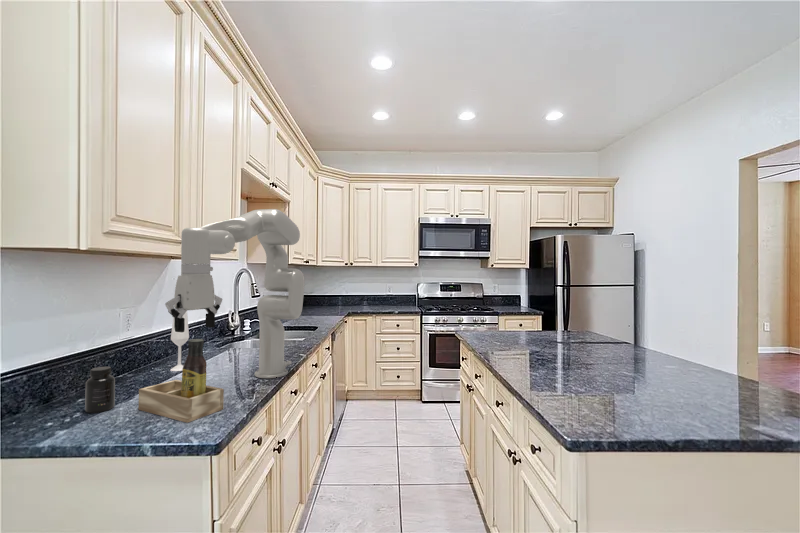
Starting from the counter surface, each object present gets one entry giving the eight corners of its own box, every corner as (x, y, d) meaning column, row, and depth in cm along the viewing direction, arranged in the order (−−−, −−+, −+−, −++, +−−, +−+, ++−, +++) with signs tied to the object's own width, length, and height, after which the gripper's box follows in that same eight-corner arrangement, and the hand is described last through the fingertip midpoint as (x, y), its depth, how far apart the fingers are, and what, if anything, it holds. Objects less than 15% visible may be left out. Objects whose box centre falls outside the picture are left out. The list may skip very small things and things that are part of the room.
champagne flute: (173, 367, 161) (174, 310, 162) (190, 366, 163) (192, 310, 163) (167, 371, 155) (168, 312, 155) (185, 370, 156) (186, 312, 157)
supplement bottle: (83, 409, 112) (84, 368, 112) (112, 403, 116) (113, 364, 117) (86, 415, 107) (87, 372, 107) (116, 409, 111) (117, 368, 112)
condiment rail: (175, 398, 122) (176, 379, 122) (223, 409, 113) (223, 388, 113) (138, 409, 111) (138, 389, 112) (187, 422, 102) (187, 400, 102)
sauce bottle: (175, 410, 109) (177, 340, 109) (196, 403, 114) (197, 337, 115) (190, 414, 106) (191, 342, 106) (210, 407, 111) (211, 339, 112)
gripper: (212, 270, 120) (212, 324, 120) (158, 270, 105) (157, 332, 104) (229, 270, 117) (229, 326, 117) (175, 270, 101) (175, 335, 101)
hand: (195, 329), depth 111 cm, fingers open, 9 cm apart
